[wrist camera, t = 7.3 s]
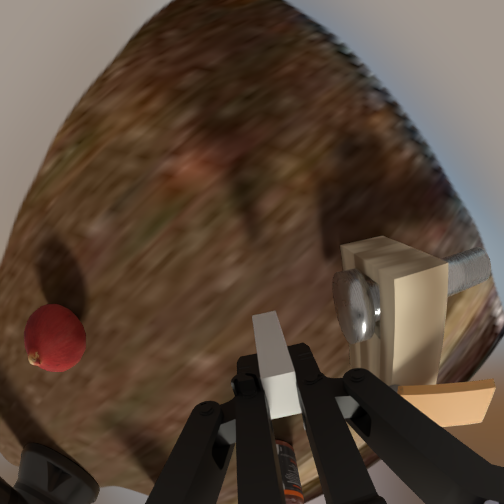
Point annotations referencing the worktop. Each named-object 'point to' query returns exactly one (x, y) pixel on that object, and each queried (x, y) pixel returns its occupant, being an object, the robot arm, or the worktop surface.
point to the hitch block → (401, 311)
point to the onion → (54, 338)
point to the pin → (368, 294)
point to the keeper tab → (450, 401)
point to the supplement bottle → (289, 473)
